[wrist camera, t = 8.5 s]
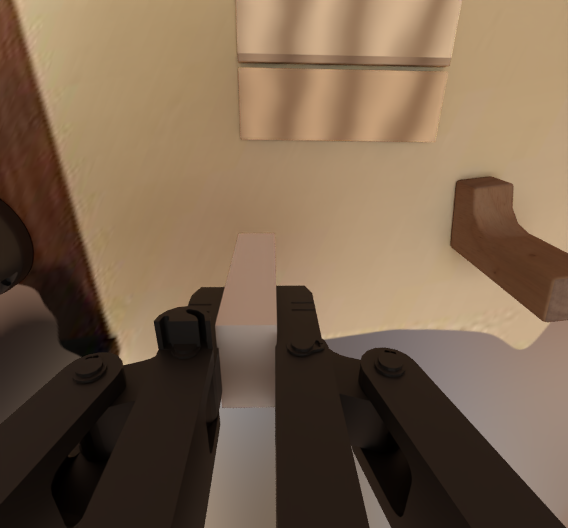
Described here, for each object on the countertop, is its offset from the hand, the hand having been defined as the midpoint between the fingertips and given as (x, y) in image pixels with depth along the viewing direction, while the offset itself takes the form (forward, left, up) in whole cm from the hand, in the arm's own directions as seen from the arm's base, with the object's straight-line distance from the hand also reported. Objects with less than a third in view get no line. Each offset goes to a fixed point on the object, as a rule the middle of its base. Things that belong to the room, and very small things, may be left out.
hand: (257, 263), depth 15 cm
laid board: (+8, +13, -29) cm, 33 cm away
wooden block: (+26, -6, -29) cm, 40 cm away
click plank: (+8, +6, -29) cm, 31 cm away
